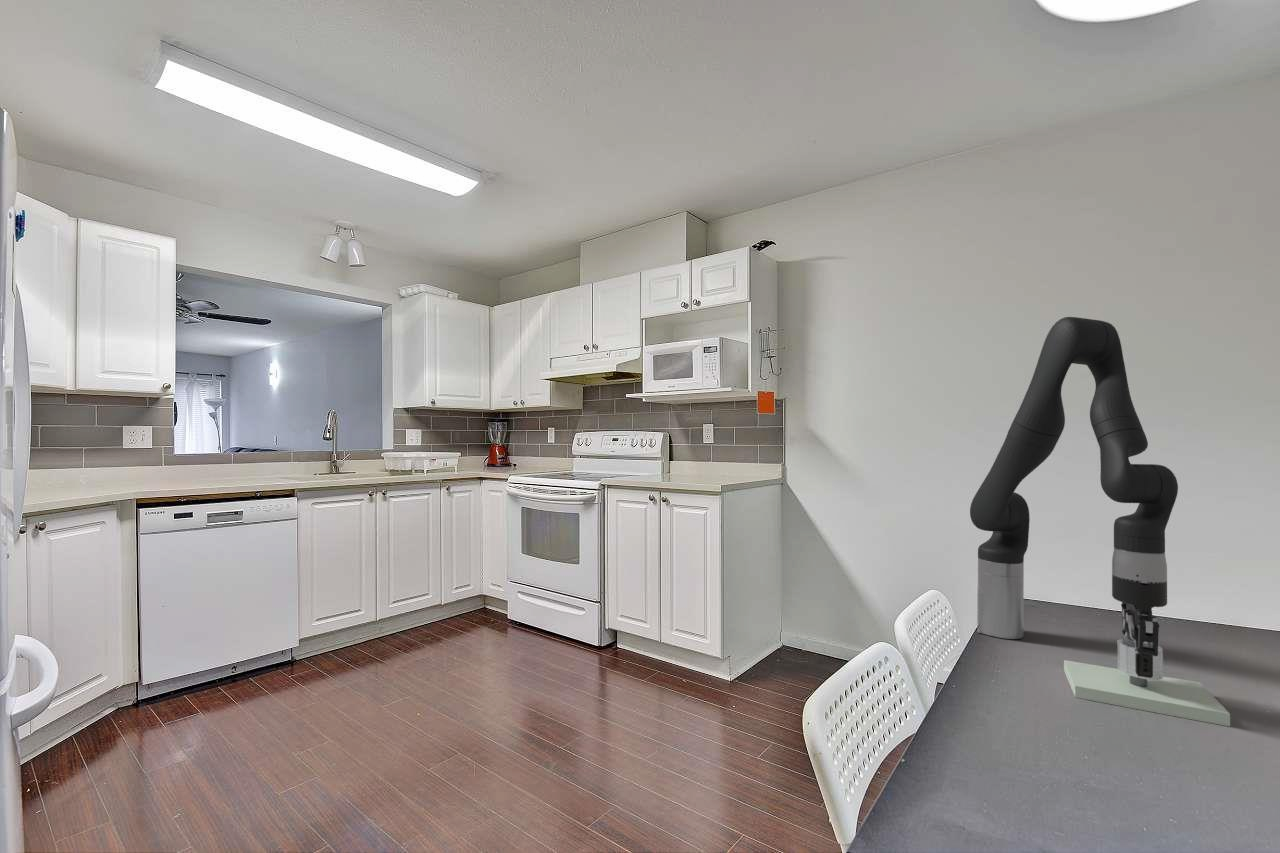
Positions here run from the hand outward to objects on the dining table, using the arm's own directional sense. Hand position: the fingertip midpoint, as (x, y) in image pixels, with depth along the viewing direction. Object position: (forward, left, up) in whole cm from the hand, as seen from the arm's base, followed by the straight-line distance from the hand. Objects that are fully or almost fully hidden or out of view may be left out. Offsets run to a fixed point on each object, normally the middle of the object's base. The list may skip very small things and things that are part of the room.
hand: (1139, 669), depth 104 cm
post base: (0, 0, -5) cm, 5 cm away
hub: (0, 0, -1) cm, 1 cm away
